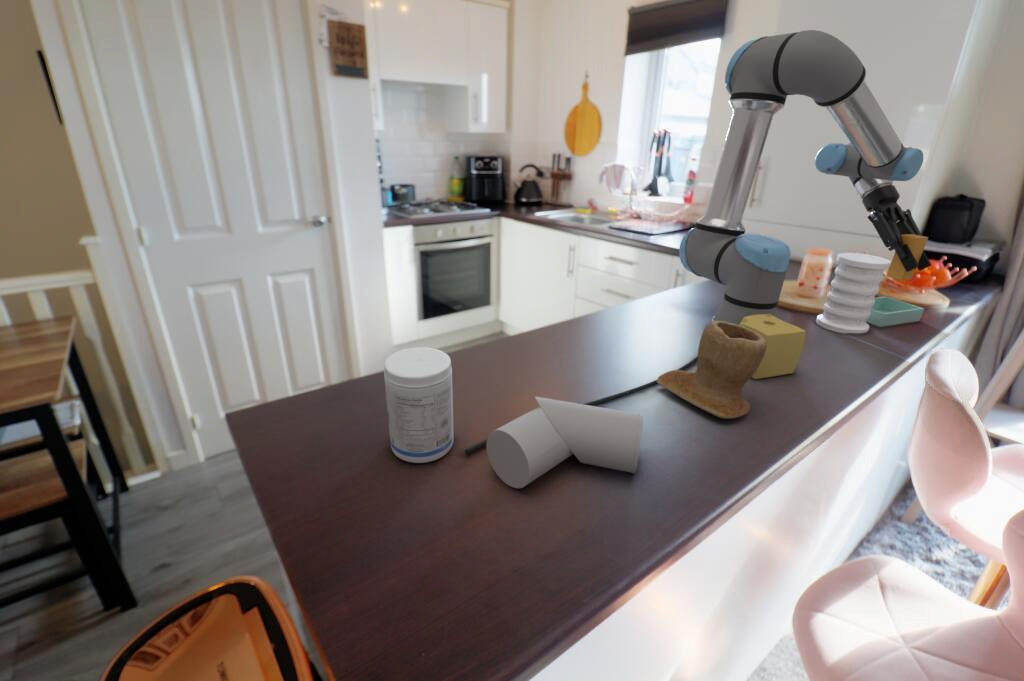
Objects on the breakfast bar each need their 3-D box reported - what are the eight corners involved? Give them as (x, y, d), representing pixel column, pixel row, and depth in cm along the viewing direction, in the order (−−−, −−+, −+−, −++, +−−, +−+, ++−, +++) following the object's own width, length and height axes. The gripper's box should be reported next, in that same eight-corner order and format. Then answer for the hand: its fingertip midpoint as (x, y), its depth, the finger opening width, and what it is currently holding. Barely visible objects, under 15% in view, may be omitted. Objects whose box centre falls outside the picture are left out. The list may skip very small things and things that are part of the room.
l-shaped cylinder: (564, 405, 82) (476, 454, 70) (580, 356, 77) (487, 400, 64) (649, 472, 73) (565, 544, 60) (675, 422, 67) (588, 489, 54)
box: (879, 328, 123) (884, 314, 122) (842, 314, 132) (847, 301, 130) (918, 322, 128) (924, 308, 127) (880, 309, 137) (885, 296, 135)
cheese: (719, 358, 104) (729, 316, 100) (759, 353, 107) (770, 311, 103) (755, 381, 95) (767, 335, 91) (797, 375, 98) (811, 330, 94)
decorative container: (877, 336, 118) (903, 265, 111) (827, 332, 120) (849, 262, 112) (854, 319, 129) (877, 253, 121) (808, 316, 130) (828, 250, 123)
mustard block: (901, 280, 124) (917, 237, 119) (886, 276, 127) (901, 234, 123) (912, 279, 125) (928, 237, 120) (896, 275, 128) (911, 234, 124)
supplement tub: (395, 428, 77) (388, 346, 71) (454, 426, 78) (452, 345, 72) (386, 468, 68) (377, 377, 62) (453, 465, 69) (451, 376, 63)
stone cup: (764, 411, 85) (786, 334, 79) (721, 430, 79) (742, 348, 73) (694, 375, 97) (709, 305, 91) (653, 389, 91) (665, 316, 85)
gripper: (885, 200, 135) (926, 273, 127) (842, 201, 129) (881, 278, 122) (912, 183, 128) (956, 259, 121) (867, 183, 123) (911, 263, 115)
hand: (919, 268), depth 121 cm, fingers closed on mustard block, 4 cm apart
